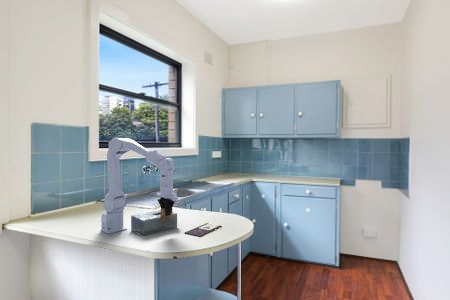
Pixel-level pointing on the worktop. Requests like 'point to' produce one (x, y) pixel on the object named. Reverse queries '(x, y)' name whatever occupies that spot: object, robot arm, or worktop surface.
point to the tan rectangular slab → (163, 215)
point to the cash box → (152, 223)
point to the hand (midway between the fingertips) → (166, 214)
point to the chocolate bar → (202, 230)
